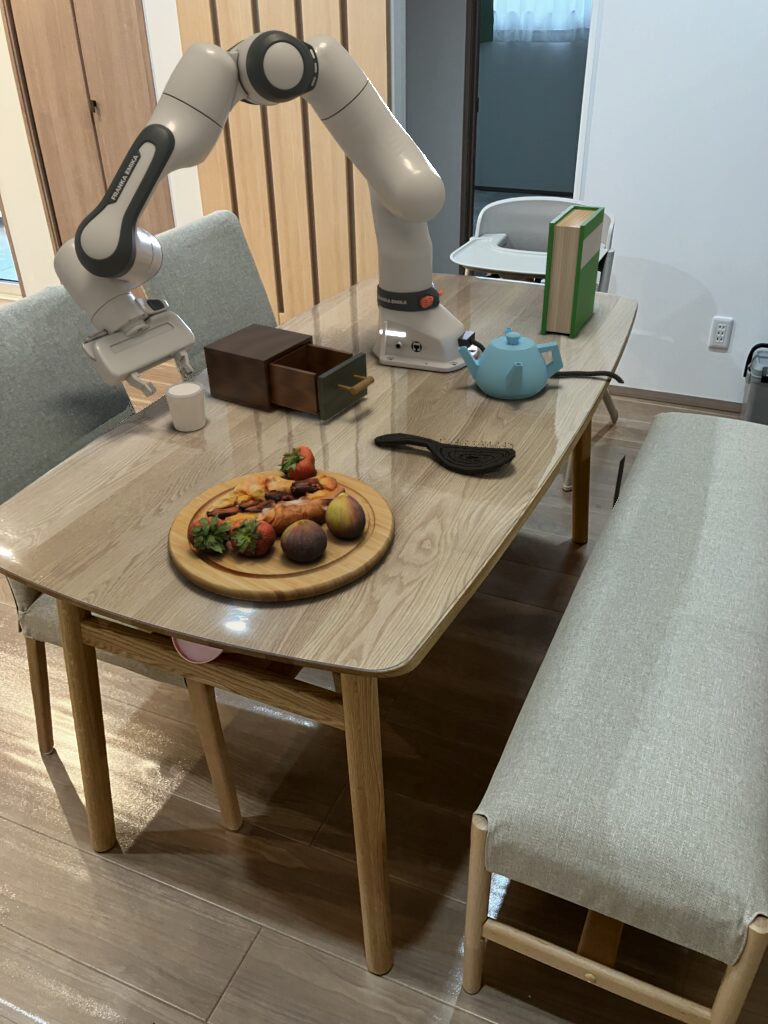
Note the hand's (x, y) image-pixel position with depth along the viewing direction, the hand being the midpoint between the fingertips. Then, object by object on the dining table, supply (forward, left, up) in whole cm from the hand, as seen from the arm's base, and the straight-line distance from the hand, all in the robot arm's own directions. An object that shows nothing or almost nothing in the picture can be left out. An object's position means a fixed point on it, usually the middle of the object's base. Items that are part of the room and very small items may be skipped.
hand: (171, 384), depth 148 cm
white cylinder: (-3, 0, -7) cm, 8 cm away
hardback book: (-42, -82, -7) cm, 93 cm away
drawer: (-20, -19, -6) cm, 28 cm away
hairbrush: (-49, -12, -7) cm, 51 cm away
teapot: (-46, -43, -7) cm, 63 cm away
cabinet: (-5, -19, -7) cm, 20 cm away
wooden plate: (-41, +20, -7) cm, 46 cm away
